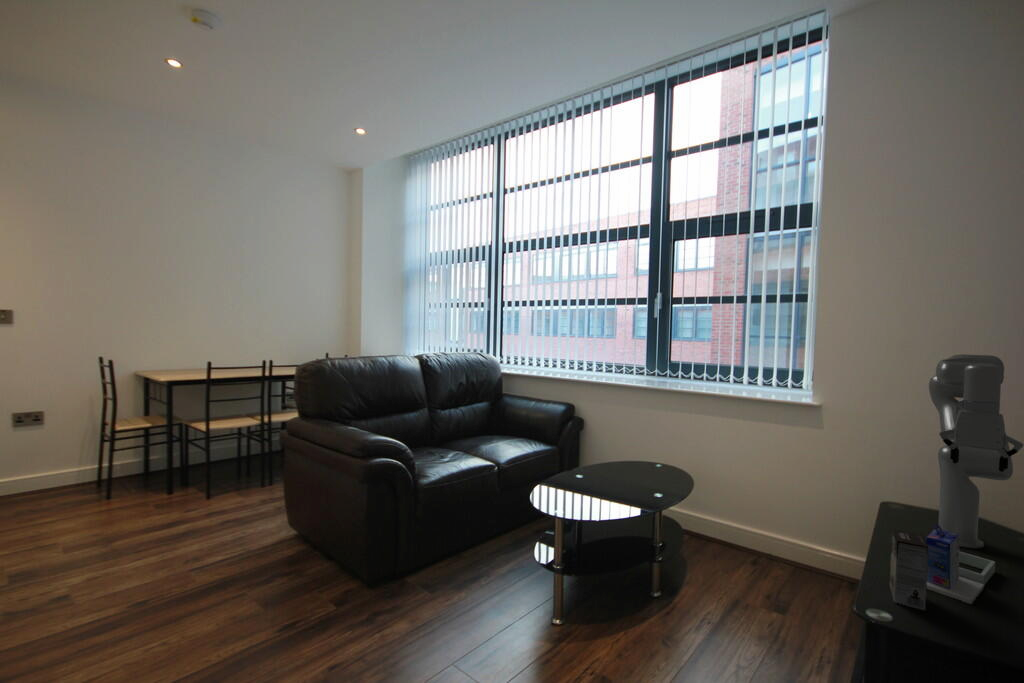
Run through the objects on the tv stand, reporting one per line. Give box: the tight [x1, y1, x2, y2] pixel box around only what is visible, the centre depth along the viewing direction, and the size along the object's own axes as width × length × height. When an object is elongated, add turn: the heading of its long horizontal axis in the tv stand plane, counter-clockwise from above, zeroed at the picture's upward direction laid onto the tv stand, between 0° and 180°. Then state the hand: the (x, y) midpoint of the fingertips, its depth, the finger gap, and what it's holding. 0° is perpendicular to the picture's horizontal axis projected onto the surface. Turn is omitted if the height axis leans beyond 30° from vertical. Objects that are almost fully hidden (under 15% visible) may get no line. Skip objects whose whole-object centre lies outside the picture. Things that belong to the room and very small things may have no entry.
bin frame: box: [959, 550, 996, 586], centre depth 139 cm, size 15×16×3 cm
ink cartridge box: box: [925, 523, 960, 589], centre depth 129 cm, size 10×6×14 cm, turn 127°
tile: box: [926, 576, 985, 605], centre depth 129 cm, size 14×14×1 cm
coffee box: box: [889, 528, 929, 611], centre depth 121 cm, size 9×6×16 cm
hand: (978, 466), depth 137 cm, fingers open, 9 cm apart
